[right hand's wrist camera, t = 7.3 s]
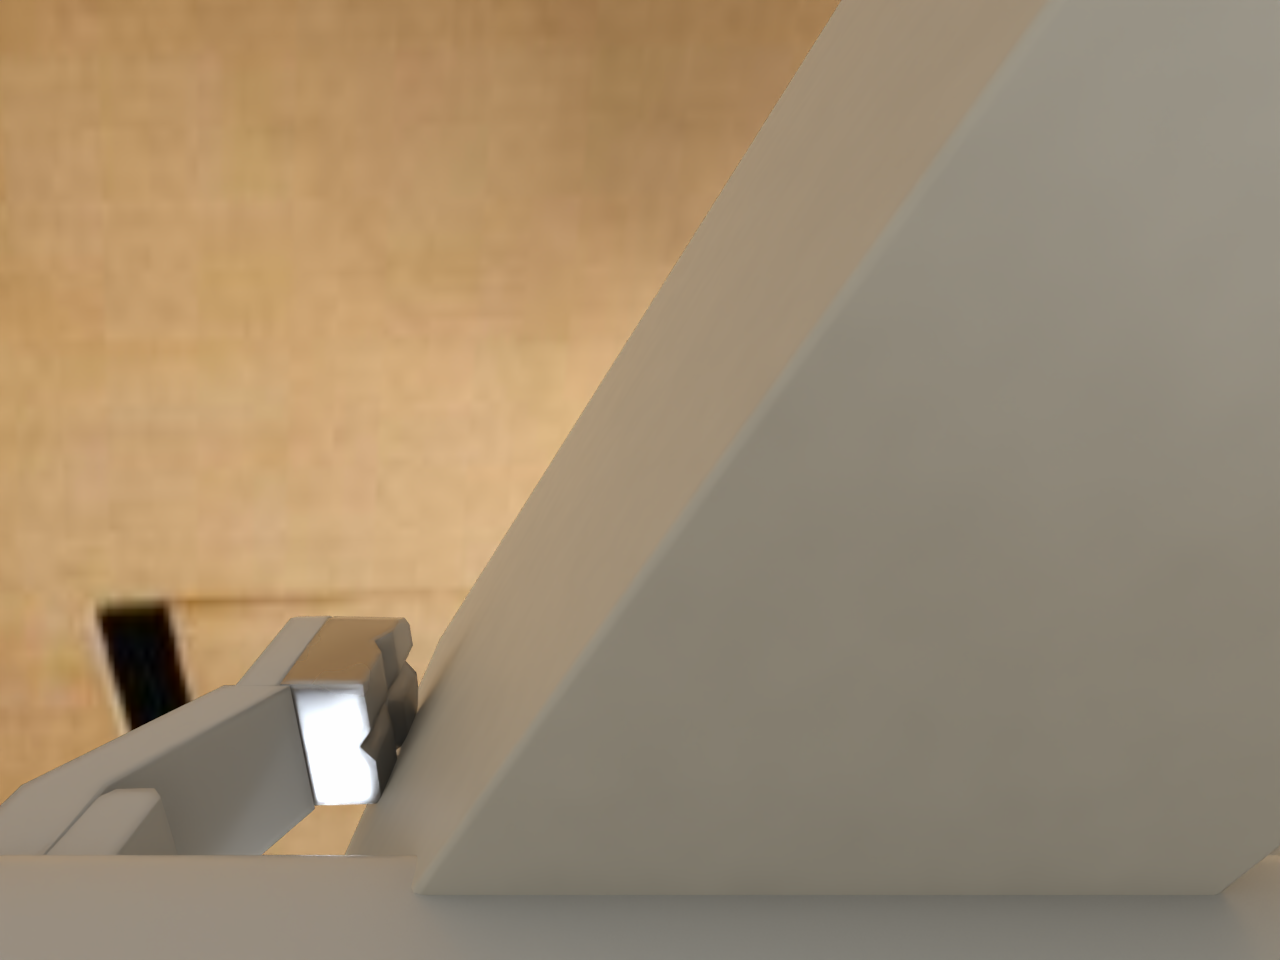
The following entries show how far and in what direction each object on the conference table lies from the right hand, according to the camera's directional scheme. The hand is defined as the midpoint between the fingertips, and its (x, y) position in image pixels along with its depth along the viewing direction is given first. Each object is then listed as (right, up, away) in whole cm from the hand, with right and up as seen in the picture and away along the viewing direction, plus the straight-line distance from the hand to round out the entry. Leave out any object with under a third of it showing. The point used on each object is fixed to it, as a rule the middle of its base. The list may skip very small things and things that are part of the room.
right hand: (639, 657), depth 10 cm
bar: (+5, +8, 0) cm, 10 cm away
